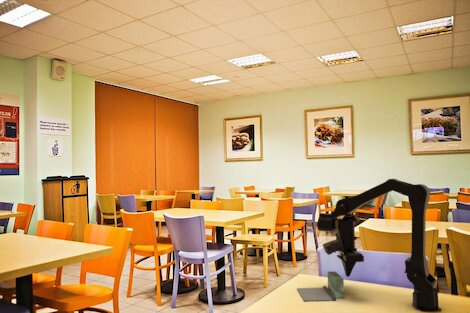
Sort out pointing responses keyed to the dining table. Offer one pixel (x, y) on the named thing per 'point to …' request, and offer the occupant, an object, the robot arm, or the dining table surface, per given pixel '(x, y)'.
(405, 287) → the dining table surface
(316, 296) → the slate board
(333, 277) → the grey-green rectangular block
